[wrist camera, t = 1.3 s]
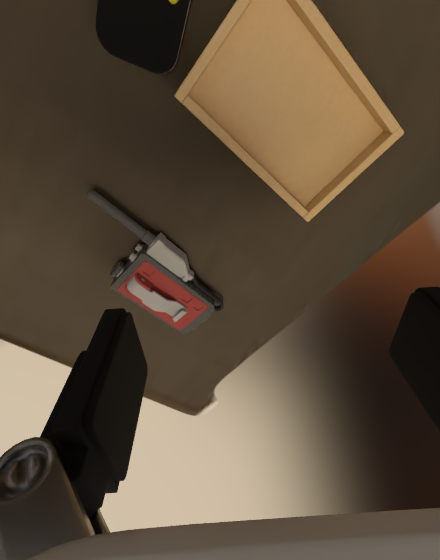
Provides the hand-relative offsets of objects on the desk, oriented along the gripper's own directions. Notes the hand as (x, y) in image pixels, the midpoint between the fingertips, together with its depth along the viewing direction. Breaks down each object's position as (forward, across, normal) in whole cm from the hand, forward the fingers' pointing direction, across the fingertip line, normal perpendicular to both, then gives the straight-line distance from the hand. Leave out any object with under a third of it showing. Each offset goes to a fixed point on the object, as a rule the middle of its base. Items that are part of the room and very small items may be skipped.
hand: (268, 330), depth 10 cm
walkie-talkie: (+23, +10, +11) cm, 27 cm away
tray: (+23, -6, -4) cm, 24 cm away
